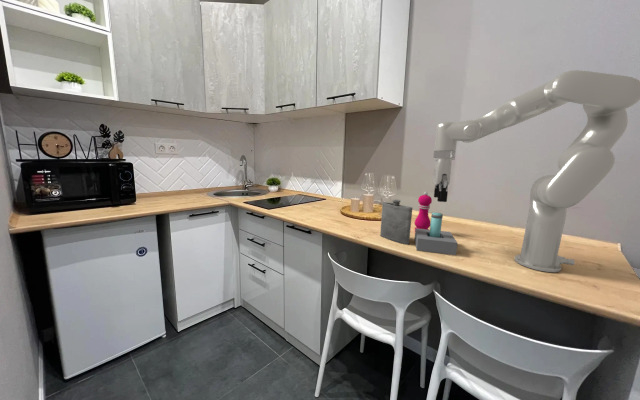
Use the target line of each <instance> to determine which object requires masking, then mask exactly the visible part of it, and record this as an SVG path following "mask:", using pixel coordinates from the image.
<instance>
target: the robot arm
mask: <svg viewBox="0 0 640 400" xmlns="http://www.w3.org/2000/svg"><path fill="white" fill-rule="evenodd" d="M639 101H640V80H639V79H638V78H636V77H633V76H628V75H621V74H613V73H611V74H610V73H606V72H605V73H604V72H597V71H596V72H595V71H589V70H588V71H587V70H568V71H564V72H563V73H560V74H559V75H557V76H556V77H555V78H553V79H552V80H549V81H547V82H545V83H543V84H542V85H539V86H537V87H535V88H533V89H531V90H528V91H527V92H524V93H522V94H520V95H518V96H515V97H513V98H511V99H509V100H508V101H507V100H506V102H504V103H503V104H501V105H500V106H498V107H497V108H495V109H493V110H492V111H490V112H489V113H486V114H484V115H482V116H480V117H478V118H475V119H473V120H472V119H471V120H470V119H469V120H463V121H457V122H456V121H455V122H454V121H445V122H439V123H438V124H436V127H435V137H434V146H433V160H435V161H434V168H433V176H432V184H434V189H433V190H434V193H433V198H437V202H438V203H439V202H441V203H446V202H447V201H448V194H449V193H448V188H449V187H448V186H449V185H450V182H451V176H452V161H454V160H455V159H456V151H457V150H456V149H457V142H463V143H466V144H469V143H470V144H471V143H473V142H475V141H477V140H480V139H482V138H485V137H488V136H489V135H491V134H494V133H496V132H499V131H501V130H504V129H507V128H511V127H513V126H516V125H519V124H520V123H523V122H525V121H528V120H530V119H532V118H535V117H537V116H540V115H542V114H545V113H547V112H549V111H552V110H553V109H556V108H558V107H560V106H563V105H565V104H567V103H574V104H578V105H582V109H583V110H584V112H585V114H586V117H587V118H586V119H587V120H586V121H587V122H586V125H585V126H584V128H583V129H582V130H581V132H580V133H579V134H578V136H577V137H576V138H575V139H574V140H573V142H572V143H571V144H570V145H569V146H568V147H567V148H566V149H565V150H564V152H562V154H561V155H560V156H559V158H558V159H557V167H558V169H559V170H558V171H557V172H556V173H555V174H548V175H543V176H540V177H539V178H537V179H536V180H535V181H534V182H533V183H532V185H531V188H530V195H529V209H528V213H527V219H526V224H525V230H524V234H523V240H522V241H523V242H522V245H521V250H520V251H521V252H520V254H516V255H514V258H513V259H514V261H515V262H516V263H517V264H519V265H521V266H524V267H526V268H529V269H532V270H535V271H541V272H544V273H545V272H546V273H559V272H561V270H562V266H561V265H569V266H570V265H571V266H574V265H576V264H575V263H576V262H575V259H572V258H566V257H565V256H561V255H559V250H560V247H561V246H560V245H561V241H562V237H563V232H564V228H565V223H566V220H567V219H566V217H567V209H569V208H571V207H575V206H576V205H578V204H579V203H581V202H582V201H583V200H584V199H585V198H586V197H587V196H588V195H589V194H590V193H591V192H592V191H593V190H594V189H595V188H596V187H597V186H598V185H599V184H600V183H601V182H602V181H603V180H604V179H605V178H606V176H607V175H609V173H610V172H611V171H612V169H613V167H614V165H615V159H616V158H615V157H616V156H615V155H614V152H613V151H612V150H611V149H613V147H614V146H615V145H616V143H617V142H618V141H619V140H620V139H621V138H622V136H623V135H624V133H625V132H626V130H627V127H628V122H629V121H628V120H629V119H628V114H627V110H626V109H628V108H631V107H633V106H634V105H635V104H637V103H639Z"/></svg>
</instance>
